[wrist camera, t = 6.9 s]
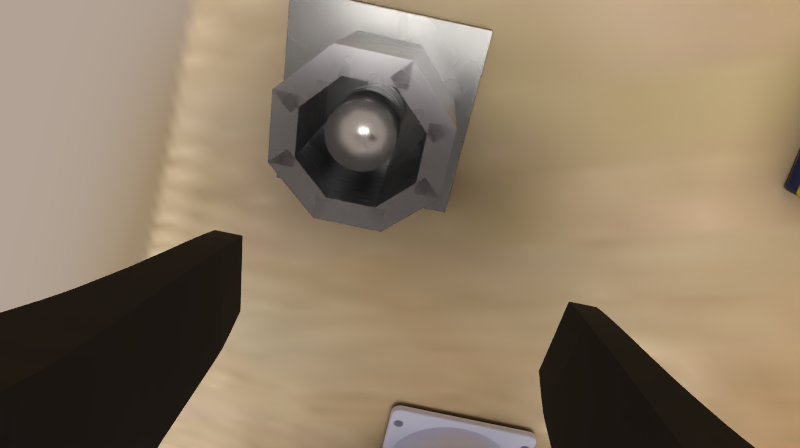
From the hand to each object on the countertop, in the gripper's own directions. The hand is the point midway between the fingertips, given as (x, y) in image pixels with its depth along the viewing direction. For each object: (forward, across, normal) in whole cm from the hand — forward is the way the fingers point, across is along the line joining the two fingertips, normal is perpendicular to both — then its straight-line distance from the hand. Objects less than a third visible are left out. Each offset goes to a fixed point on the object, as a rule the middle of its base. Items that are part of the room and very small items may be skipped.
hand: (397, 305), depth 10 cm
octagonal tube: (+9, +2, -2) cm, 9 cm away
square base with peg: (+10, +2, -2) cm, 10 cm away
